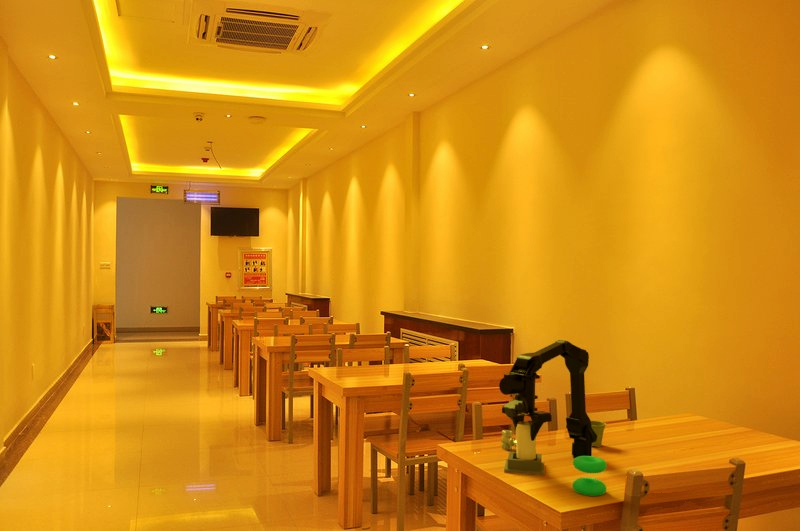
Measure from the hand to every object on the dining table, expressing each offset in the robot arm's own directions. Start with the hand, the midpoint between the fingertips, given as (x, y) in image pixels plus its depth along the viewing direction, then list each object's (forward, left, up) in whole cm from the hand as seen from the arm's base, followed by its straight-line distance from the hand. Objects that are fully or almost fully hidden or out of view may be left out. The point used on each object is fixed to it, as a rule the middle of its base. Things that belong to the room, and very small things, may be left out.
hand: (525, 438), depth 234 cm
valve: (+5, -23, -11) cm, 26 cm away
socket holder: (0, 0, -10) cm, 10 cm away
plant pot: (-25, -42, -10) cm, 50 cm away
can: (0, 0, -7) cm, 7 cm away
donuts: (-20, +20, -10) cm, 30 cm away
